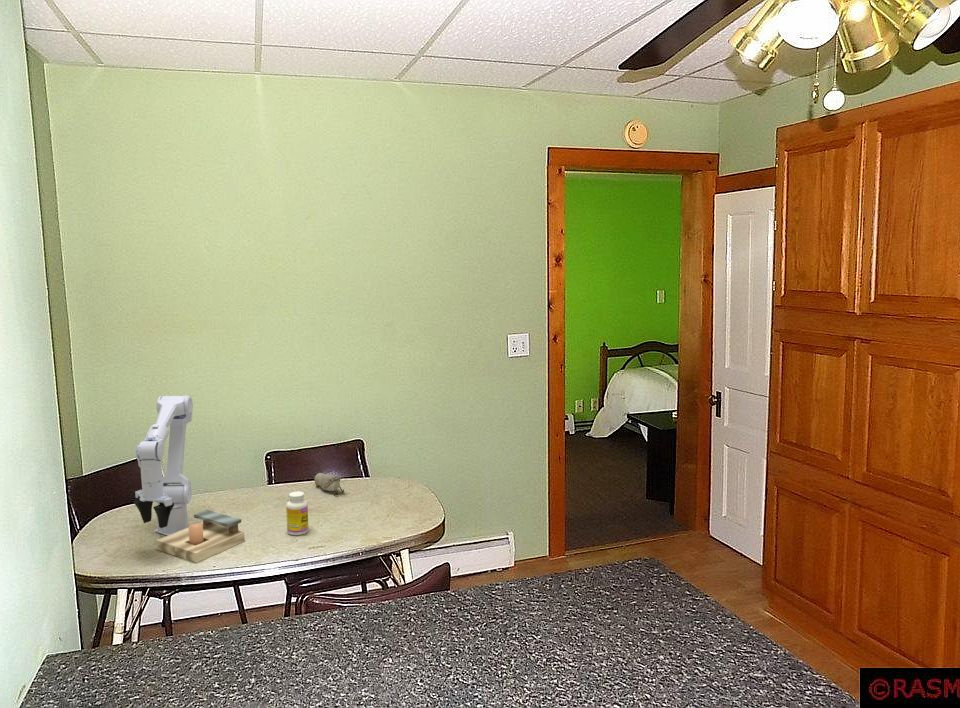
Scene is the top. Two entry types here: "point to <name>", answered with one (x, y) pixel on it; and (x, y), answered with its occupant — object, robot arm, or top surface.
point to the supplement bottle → (297, 514)
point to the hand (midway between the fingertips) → (155, 524)
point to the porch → (204, 537)
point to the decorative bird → (328, 482)
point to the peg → (196, 533)
